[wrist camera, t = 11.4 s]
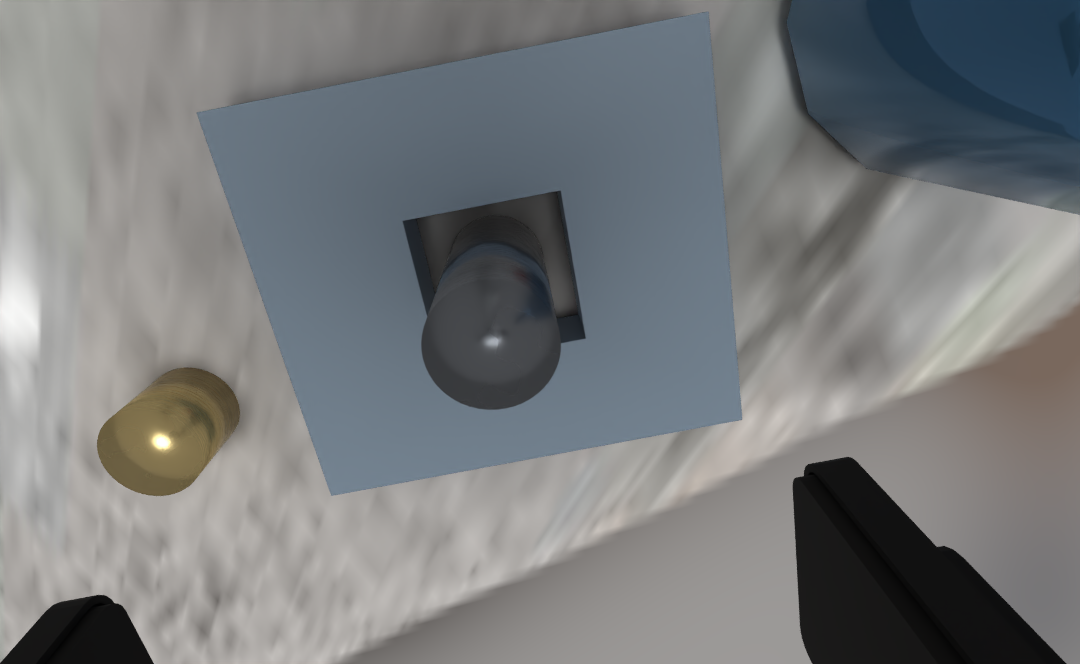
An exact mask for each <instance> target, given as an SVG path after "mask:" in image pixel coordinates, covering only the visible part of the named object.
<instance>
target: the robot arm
mask: <svg viewBox="0 0 1080 664" xmlns="http://www.w3.org/2000/svg"><path fill="white" fill-rule="evenodd" d="M793 501H794V519H795V539H796V558H797V577H798V595H799V612H800V613H799V614H800V628H801V635H802V639H803V642H804V646H805V648H806V651H807V653H808V656H809V658H810V660H811V662H812V663H813V664H1066V663H1065V662H1064V661H1063V660H1062V659H1061V658H1060V657H1059V656H1058V655H1057V654H1056V653H1055V652H1054V651H1053V649H1052V648H1050V646H1049V645H1048V644H1047V643H1046V642H1045V641H1044V640H1043V639H1042V638H1041V637H1040V636H1039V635H1038V634H1037V633H1036V632H1035V631H1034V630H1033V629H1032V628H1031V627H1030V626H1029V625H1028V624H1027V623H1026V622H1025V621H1024V620H1023V619H1022V618H1021V617H1020V616H1019V615H1018V613H1016V612H1015V610H1013V608H1012V607H1011V606H1010V605H1009V604H1008V603H1007V602H1006V601H1005V600H1004V599H1003V598H1002V597H1001V596H1000V595H999V594H998V593H997V592H996V591H995V590H994V589H993V588H992V587H991V586H990V585H989V584H988V583H987V582H986V581H985V580H984V579H983V578H982V577H981V575H980V574H978V572H977V571H976V570H975V569H974V568H973V567H972V566H971V565H970V564H969V563H968V562H967V561H966V560H965V559H964V558H963V557H962V556H960V555H959V554H958V553H957V552H956V551H954V550H953V549H950V548H948V547H945V546H942V547H936V546H935V545H934V544H933V543H932V541H931V540H930V539H929V538H928V537H927V536H926V535H925V534H924V533H923V532H922V531H921V530H920V529H919V528H918V527H917V525H916V524H915V523H914V522H913V521H912V520H911V519H910V518H909V517H908V516H907V515H906V514H905V513H904V512H903V511H902V510H901V508H900V507H899V506H898V505H897V504H896V503H895V502H894V501H893V500H892V499H891V498H890V497H889V496H888V495H887V493H886V492H885V491H884V490H883V489H882V488H881V487H880V486H879V485H878V484H877V483H876V482H875V481H874V480H873V479H872V477H871V476H870V475H869V474H868V473H867V472H866V471H865V470H864V469H863V468H862V467H861V466H860V465H859V464H858V462H856V461H855V460H854V459H853V458H850V457H845V458H840V459H834V460H829V461H824V462H818V463H812V464H808V465H807V466H806V467H805V470H804V476H803V477H798V478H795V479H794V481H793ZM0 664H154V663H153V661H152V659H151V658H150V656H149V654H148V652H147V650H146V648H145V646H144V644H143V642H142V641H141V639H140V637H139V635H138V633H137V631H136V629H135V627H134V625H133V624H132V622H131V620H130V618H129V616H128V614H127V612H126V610H125V609H124V608H123V606H121V605H119V604H115V603H114V602H113V601H112V600H111V599H110V598H109V597H107V596H105V595H96V596H90V597H85V598H80V599H74V600H69V601H63V602H59V603H57V604H54V605H53V606H51V607H50V608H49V609H48V610H47V611H46V612H45V613H44V614H43V615H42V616H41V617H40V619H39V620H38V621H37V622H36V623H35V624H34V625H33V627H32V628H31V629H30V630H29V631H28V632H27V633H26V634H25V636H24V637H23V638H22V639H21V640H20V641H19V642H18V644H17V645H16V646H15V647H14V648H13V649H12V650H11V651H10V653H9V654H8V655H7V656H6V657H5V658H4V659H3V661H2V662H1V663H0Z"/></svg>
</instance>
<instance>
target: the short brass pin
mask: <svg viewBox="0 0 1080 664" xmlns="http://www.w3.org/2000/svg"><path fill="white" fill-rule="evenodd" d="M239 417H240V409H239V404H238V401H237V398H236V396H235V394H234V393H233V391H232V390H231V389H230V387H229V386H228V385H227V384H226V383H225V382H224V381H223V380H221V379H220V378H219V377H217V376H215V375H214V374H212V373H209V372H207V371H204V370H201V369H196V368H179V369H175V370H172V371H169V372H167V373H165V374H163V375H162V376H161V377H160V378H158V379H157V380H156V381H155V382H153V383H152V384H151V385H150V386H149V387H147V388H146V389H145V390H144V391H143V392H141V393H140V394H139V395H138V396H137V397H135V398H134V399H133V400H132V401H130V402H129V403H128V404H127V405H126V406H124V407H123V408H122V409H121V410H120V411H118V412H117V413H116V414H115V415H113V416H112V417H111V418H110V419H109V420H108V421H107V422H106V423H105V424H104V425H103V427H102V428H101V430H100V433H99V435H98V440H97V449H98V454H99V458H100V460H101V462H102V464H103V466H104V468H105V469H106V470H107V472H108V473H109V474H110V475H111V476H112V477H113V478H114V479H115V480H116V481H117V482H119V483H120V484H122V485H123V486H125V487H127V488H128V489H130V490H133V491H135V492H138V493H141V494H146V495H153V496H164V495H171V494H175V493H177V492H180V491H182V490H184V489H186V488H187V487H188V486H190V485H191V484H192V483H193V482H194V481H195V479H196V478H197V477H198V476H199V474H200V473H201V472H202V471H203V469H204V468H205V467H206V466H207V464H208V463H209V462H210V461H211V459H212V458H213V457H214V456H215V454H216V453H217V452H218V451H219V449H220V448H221V447H222V446H223V444H224V443H225V442H226V441H227V439H228V438H229V437H230V436H231V434H232V433H233V432H234V430H235V429H236V427H237V425H238V422H239Z"/></svg>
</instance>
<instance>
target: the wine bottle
mask: <svg viewBox="0 0 1080 664" xmlns="http://www.w3.org/2000/svg"><path fill="white" fill-rule="evenodd" d="M787 27H788V31H789V35H790V39H791V44H792V48H793V52H794V56H795V60H796V64H797V69H798V73H799V77H800V81H801V85H802V89H803V94H804V98H805V102H806V106H807V110H808V114H809V115H810V116H812V117H813V118H814V119H815V120H816V121H817V122H818V123H819V124H820V125H821V126H822V127H823V128H824V129H825V130H826V131H827V132H828V133H829V134H831V135H832V136H833V137H834V138H835V139H836V140H837V141H838V142H839V143H840V144H841V145H842V146H843V147H844V148H845V149H846V150H847V151H848V152H850V153H851V154H852V155H853V156H854V157H855V158H856V159H857V160H858V161H859V162H860V163H861V164H862V165H863V166H864V167H865V168H866V169H870V170H875V171H879V172H884V173H888V174H893V175H898V176H902V177H907V178H912V179H916V180H921V181H925V182H930V183H935V184H939V185H944V186H949V187H953V188H958V189H963V190H967V191H972V192H976V193H981V194H986V195H990V196H995V197H1000V198H1004V199H1009V200H1013V201H1018V202H1023V203H1027V204H1032V205H1037V206H1041V207H1046V208H1050V209H1055V210H1060V211H1064V212H1069V213H1074V214H1078V215H1080V0H792V3H791V7H790V11H789V15H788V19H787Z"/></svg>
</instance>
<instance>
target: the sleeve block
mask: <svg viewBox="0 0 1080 664" xmlns="http://www.w3.org/2000/svg"><path fill="white" fill-rule="evenodd" d="M197 115H198V118H199V121H200V124H201V127H202V129H203V132H204V135H205V138H206V141H207V144H208V146H209V149H210V152H211V155H212V158H213V161H214V163H215V166H216V169H217V172H218V175H219V178H220V181H221V183H222V186H223V189H224V192H225V195H226V198H227V200H228V203H229V206H230V209H231V212H232V215H233V217H234V220H235V223H236V226H237V229H238V232H239V235H240V237H241V240H242V243H243V246H244V249H245V252H246V254H247V257H248V260H249V263H250V266H251V269H252V271H253V274H254V277H255V280H256V283H257V286H258V289H259V291H260V294H261V297H262V300H263V303H264V306H265V308H266V311H267V314H268V317H269V320H270V323H271V326H272V328H273V331H274V334H275V337H276V340H277V343H278V345H279V348H280V351H281V354H282V357H283V360H284V362H285V365H286V368H287V371H288V374H289V377H290V380H291V382H292V385H293V388H294V391H295V394H296V397H297V399H298V402H299V405H300V408H301V411H302V414H303V416H304V419H305V422H306V425H307V428H308V431H309V434H310V436H311V439H312V442H313V445H314V448H315V451H316V453H317V456H318V459H319V462H320V465H321V468H322V470H323V473H324V476H325V479H326V482H327V485H328V488H329V490H330V493H331V496H333V495H339V494H344V493H349V492H355V491H360V490H366V489H371V488H376V487H382V486H387V485H393V484H398V483H403V482H409V481H414V480H419V479H425V478H430V477H436V476H441V475H446V474H452V473H457V472H463V471H468V470H473V469H479V468H484V467H490V466H495V465H500V464H506V463H511V462H517V461H522V460H527V459H533V458H538V457H544V456H549V455H554V454H560V453H565V452H571V451H576V450H581V449H587V448H592V447H598V446H603V445H608V444H614V443H619V442H625V441H630V440H635V439H641V438H646V437H652V436H657V435H662V434H668V433H673V432H679V431H684V430H689V429H695V428H700V427H706V426H711V425H716V424H722V423H727V422H733V421H738V420H742V410H741V398H740V386H739V374H738V362H737V350H736V338H735V326H734V314H733V302H732V290H731V278H730V266H729V254H728V242H727V230H726V217H725V205H724V193H723V181H722V169H721V157H720V145H719V133H718V121H717V109H716V97H715V85H714V73H713V61H712V49H711V37H710V25H709V12H703V13H698V14H693V15H688V16H683V17H678V18H672V19H667V20H662V21H657V22H652V23H647V24H642V25H637V26H632V27H627V28H622V29H617V30H612V31H607V32H602V33H597V34H592V35H587V36H581V37H576V38H571V39H566V40H561V41H556V42H551V43H546V44H541V45H536V46H531V47H526V48H521V49H516V50H511V51H506V52H501V53H496V54H490V55H485V56H480V57H475V58H470V59H465V60H460V61H455V62H450V63H445V64H440V65H435V66H430V67H425V68H420V69H415V70H410V71H405V72H400V73H394V74H389V75H384V76H379V77H374V78H369V79H364V80H359V81H354V82H349V83H344V84H339V85H334V86H329V87H324V88H319V89H314V90H309V91H303V92H298V93H293V94H288V95H283V96H278V97H273V98H268V99H263V100H258V101H253V102H248V103H243V104H238V105H233V106H228V107H223V108H218V109H212V110H207V111H202V112H197ZM555 191H557V194H558V199H559V205H560V211H561V217H562V223H563V228H564V234H565V240H566V246H567V252H568V257H569V263H570V269H571V275H572V281H573V286H574V292H575V298H576V304H577V310H578V315H574V316H569V317H564V318H558V319H557V323H558V327H559V332H560V338H561V353H560V359H559V362H558V365H557V368H556V370H555V373H554V375H553V376H552V378H551V379H550V381H549V382H548V384H547V385H546V386H545V387H544V388H543V389H542V390H541V391H540V392H539V393H538V394H537V395H535V396H534V397H532V398H531V399H529V400H527V401H526V402H524V403H522V404H519V405H516V406H514V407H510V408H506V409H498V410H485V409H478V408H473V407H470V406H467V405H464V404H461V403H459V402H457V401H455V400H454V399H452V398H451V397H449V396H448V395H446V394H445V393H444V392H443V391H442V390H441V389H440V388H439V387H438V386H437V385H436V384H435V383H434V381H433V380H432V378H431V377H430V375H429V373H428V371H427V369H426V367H425V364H424V361H423V357H422V351H421V339H422V332H423V328H424V325H425V322H426V319H427V316H428V313H429V311H430V308H431V305H432V302H433V299H434V296H435V292H434V288H433V284H432V280H431V276H430V272H429V268H428V264H427V260H426V256H425V252H424V248H423V244H422V240H421V236H420V232H419V228H418V224H417V221H416V218H420V217H425V216H430V215H436V214H441V213H446V212H451V211H456V210H461V209H467V208H472V207H477V206H482V205H487V204H492V203H498V202H503V201H508V200H513V199H518V198H524V197H529V196H534V195H539V194H544V193H549V192H555Z"/></svg>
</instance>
